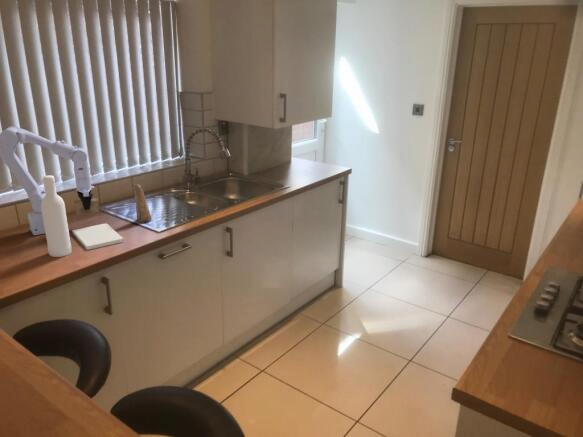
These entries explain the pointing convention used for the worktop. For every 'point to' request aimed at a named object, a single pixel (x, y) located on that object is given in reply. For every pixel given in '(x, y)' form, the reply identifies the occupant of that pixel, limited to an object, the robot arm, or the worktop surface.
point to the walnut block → (80, 208)
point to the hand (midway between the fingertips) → (86, 208)
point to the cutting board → (97, 236)
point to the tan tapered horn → (141, 205)
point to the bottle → (55, 220)
